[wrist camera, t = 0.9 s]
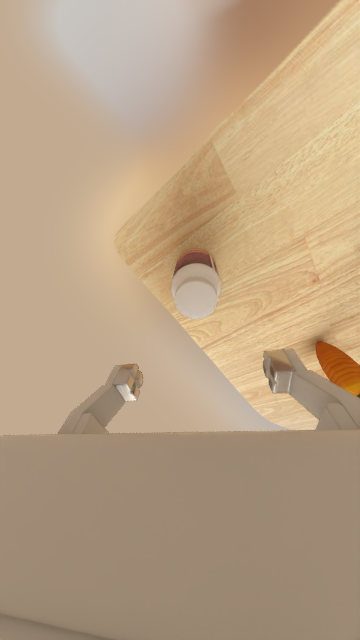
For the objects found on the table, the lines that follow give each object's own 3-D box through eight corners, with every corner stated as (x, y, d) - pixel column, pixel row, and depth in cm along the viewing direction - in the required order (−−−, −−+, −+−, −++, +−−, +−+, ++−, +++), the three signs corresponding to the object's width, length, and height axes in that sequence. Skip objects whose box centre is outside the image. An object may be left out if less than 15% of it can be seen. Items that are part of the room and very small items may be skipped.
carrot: (319, 354, 36) (384, 435, 23) (298, 347, 35) (353, 427, 23) (339, 336, 33) (424, 418, 20) (316, 329, 32) (390, 408, 20)
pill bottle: (168, 270, 28) (155, 303, 19) (193, 238, 25) (192, 259, 16) (196, 293, 30) (197, 333, 21) (223, 266, 27) (237, 299, 18)
